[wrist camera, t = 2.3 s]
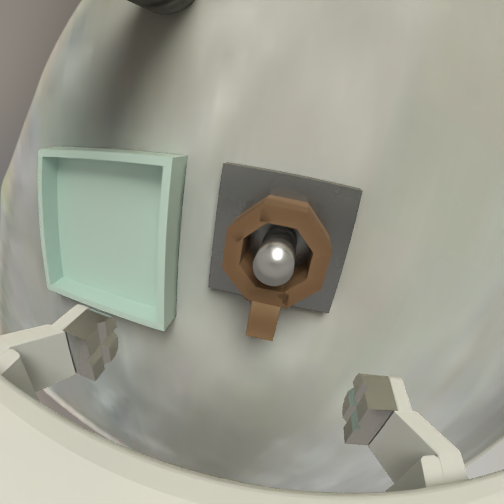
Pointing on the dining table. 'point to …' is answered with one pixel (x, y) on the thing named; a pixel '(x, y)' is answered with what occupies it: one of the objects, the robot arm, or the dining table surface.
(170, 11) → the beverage cup
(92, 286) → the tray
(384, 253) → the dining table surface
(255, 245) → the stake
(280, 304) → the ring
